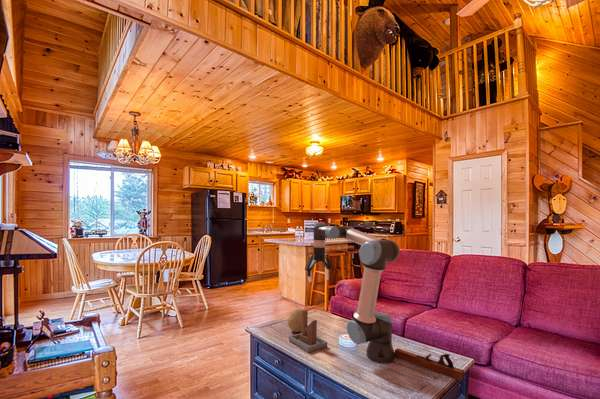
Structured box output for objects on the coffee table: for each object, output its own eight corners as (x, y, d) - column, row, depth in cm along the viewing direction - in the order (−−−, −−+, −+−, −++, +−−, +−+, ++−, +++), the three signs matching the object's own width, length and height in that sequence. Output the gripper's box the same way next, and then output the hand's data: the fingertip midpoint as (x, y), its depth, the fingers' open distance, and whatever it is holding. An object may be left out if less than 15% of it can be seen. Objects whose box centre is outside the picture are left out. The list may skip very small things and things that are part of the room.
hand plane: (465, 377, 149) (465, 356, 149) (462, 382, 145) (462, 360, 145) (397, 355, 172) (397, 336, 172) (393, 358, 168) (393, 339, 168)
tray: (327, 347, 179) (327, 342, 180) (307, 353, 171) (307, 347, 172) (307, 336, 195) (307, 331, 195) (288, 341, 187) (289, 336, 187)
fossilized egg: (283, 330, 203) (283, 307, 204) (297, 326, 212) (298, 304, 213) (296, 336, 194) (296, 312, 195) (310, 332, 203) (311, 308, 203)
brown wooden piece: (312, 346, 178) (312, 314, 179) (299, 340, 186) (300, 309, 187) (316, 344, 180) (317, 313, 181) (304, 338, 188) (304, 308, 189)
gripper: (330, 245, 208) (329, 277, 207) (299, 246, 194) (298, 281, 193) (337, 246, 202) (337, 279, 201) (306, 248, 188) (306, 283, 187)
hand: (318, 280), depth 197 cm, fingers open, 13 cm apart
